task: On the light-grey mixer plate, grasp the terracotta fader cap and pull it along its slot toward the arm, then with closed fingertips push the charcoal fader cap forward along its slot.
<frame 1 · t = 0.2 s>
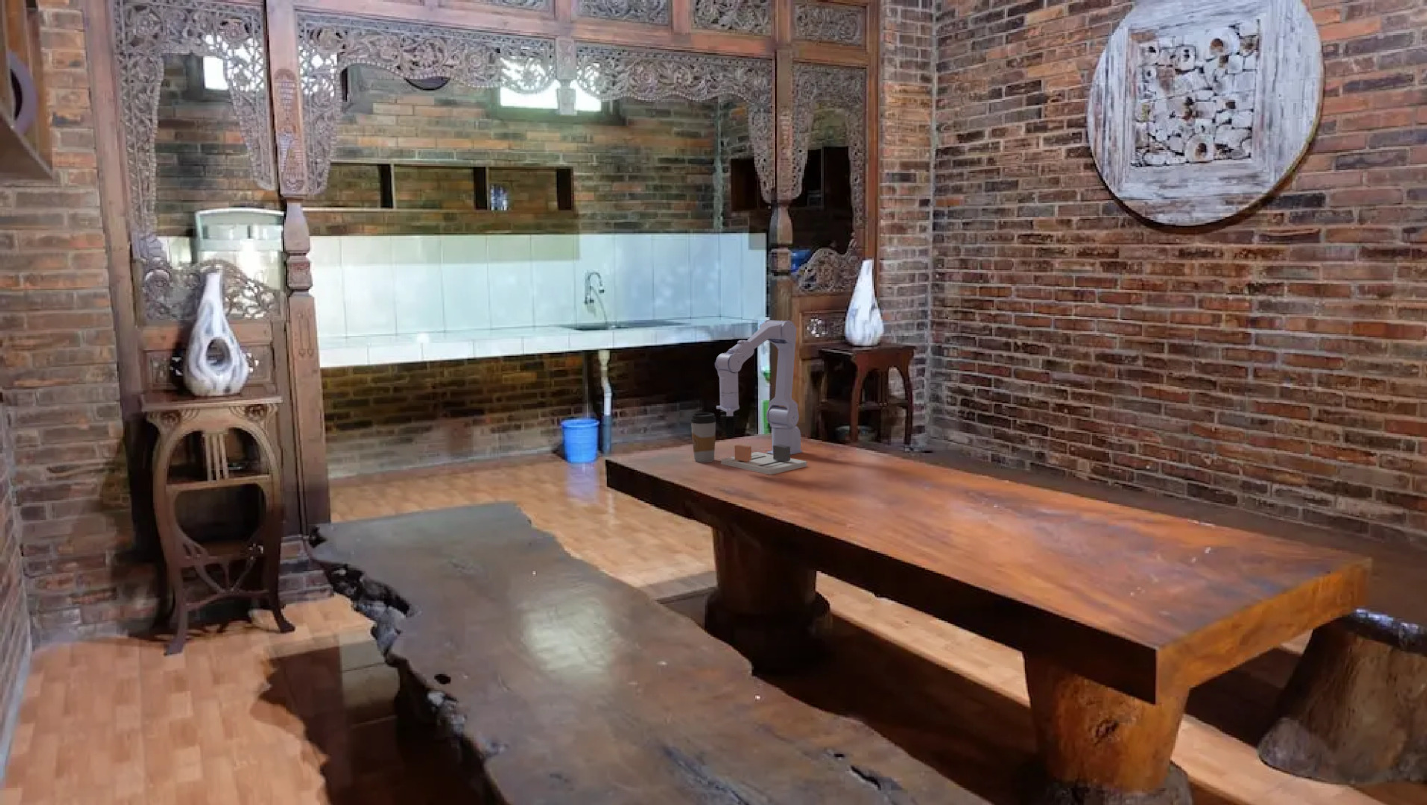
hand: (730, 435, 307), 10 cm above the table, fingers open, 7 cm apart
mixer plate: (763, 465, 310), on the table
fader b: (781, 453, 307), point 4 cm above the table, slide at 0.0 cm
coffee cup: (704, 461, 318), on the table
fader a: (743, 452, 309), point 4 cm above the table, slide at 8.0 cm
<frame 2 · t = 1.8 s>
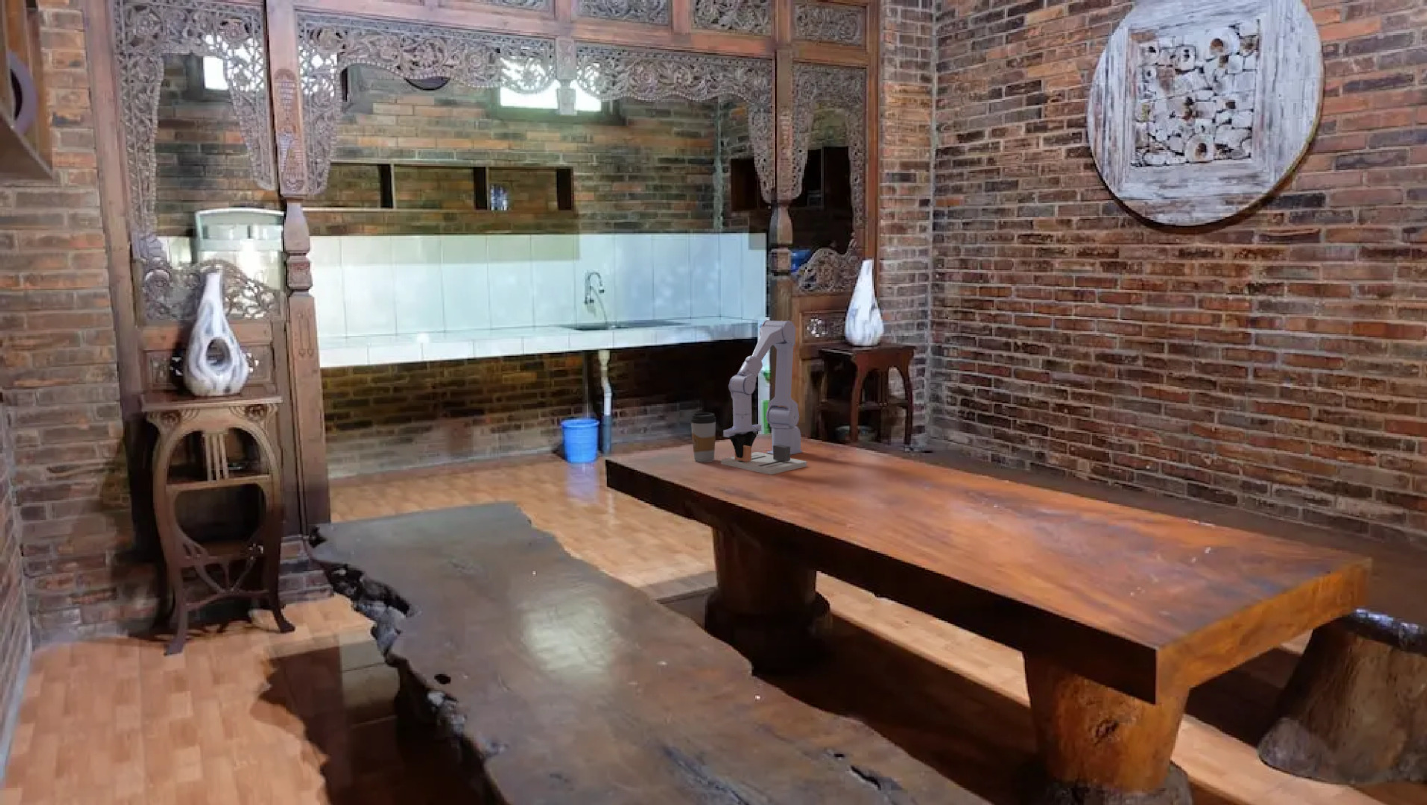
hand: (743, 456, 309), 3 cm above the table, fingers closed on fader a, 2 cm apart
fader a: (743, 452, 309), point 4 cm above the table, slide at 8.0 cm, touching gripper
everything else where it was.
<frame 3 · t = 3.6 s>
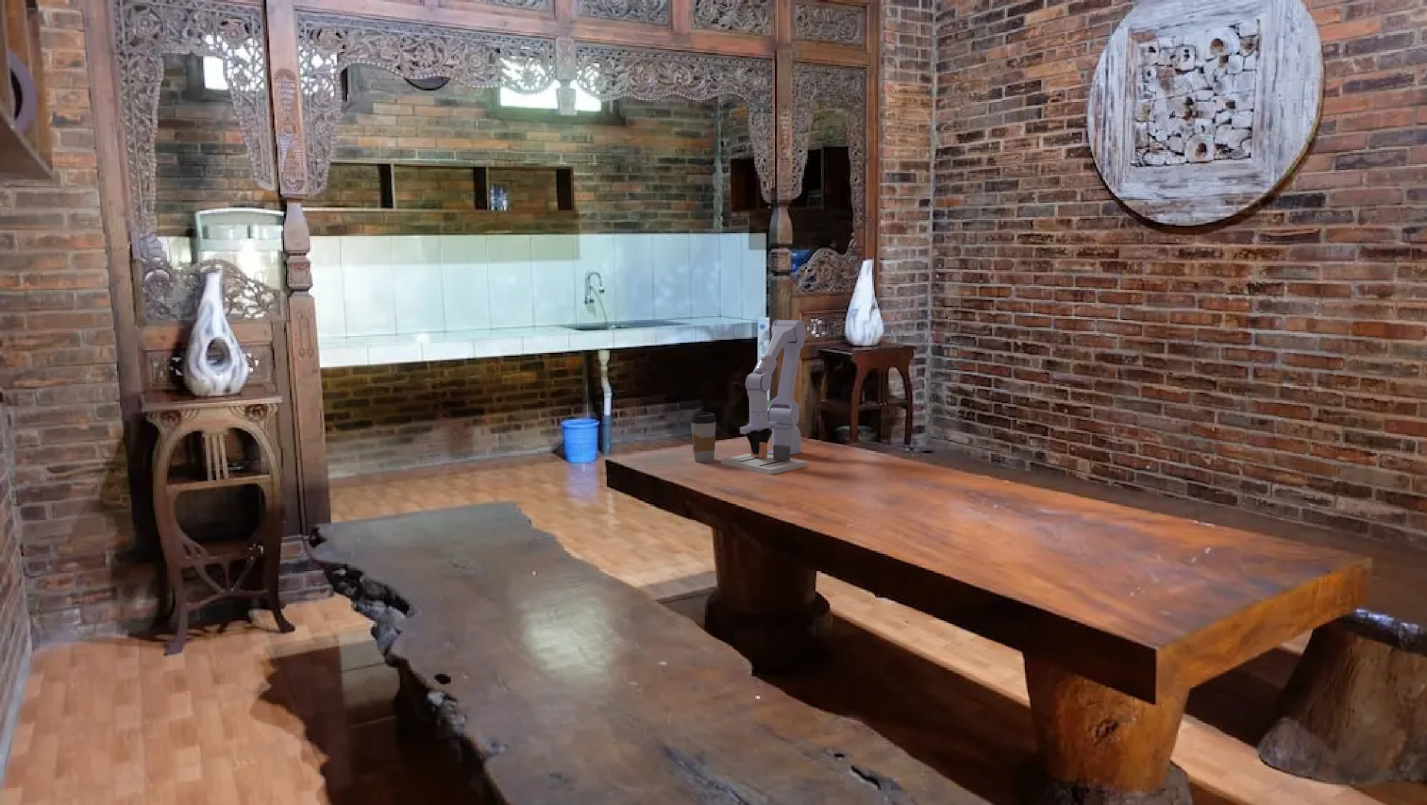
hand: (759, 453, 313), 3 cm above the table, fingers closed on fader a, 2 cm apart
fader a: (758, 449, 313), point 4 cm above the table, slide at 1.0 cm, touching gripper
everything else where it was.
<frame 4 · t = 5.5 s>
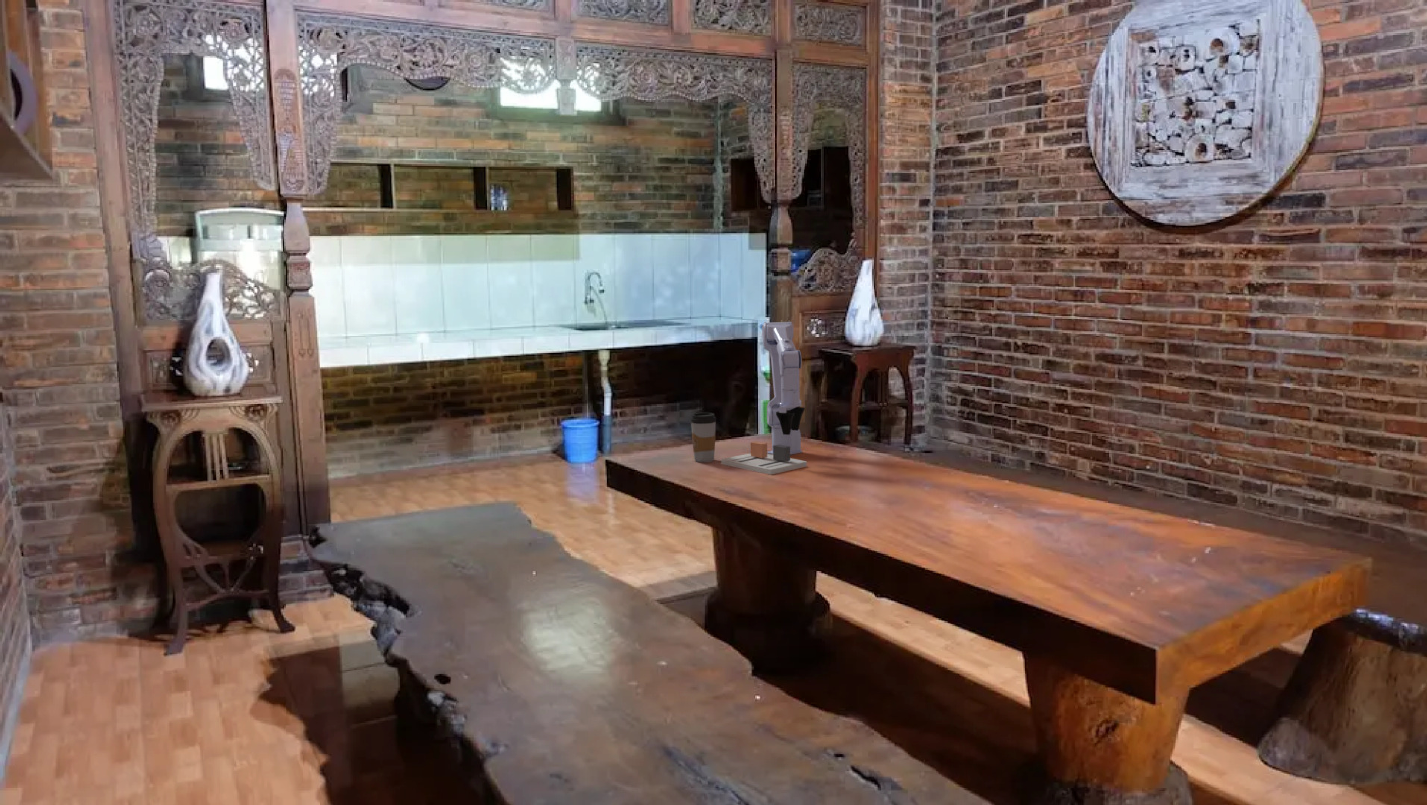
hand: (790, 432, 310), 10 cm above the table, fingers open, 7 cm apart
fader a: (758, 449, 313), point 4 cm above the table, slide at 1.0 cm
everything else where it was.
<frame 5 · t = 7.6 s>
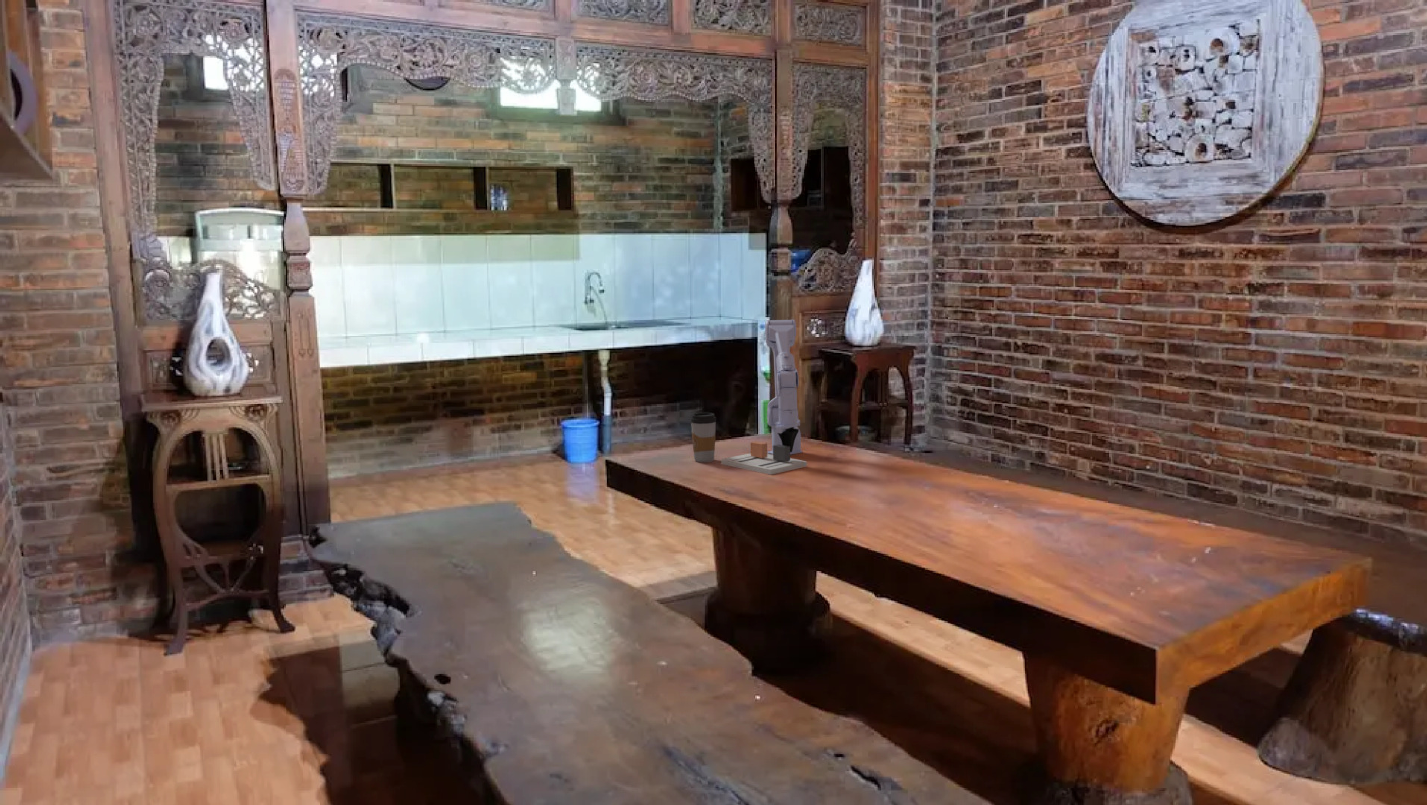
hand: (788, 452, 309), 4 cm above the table, fingers closed
fader b: (781, 453, 307), point 4 cm above the table, slide at 0.0 cm, touching gripper
everything else where it was.
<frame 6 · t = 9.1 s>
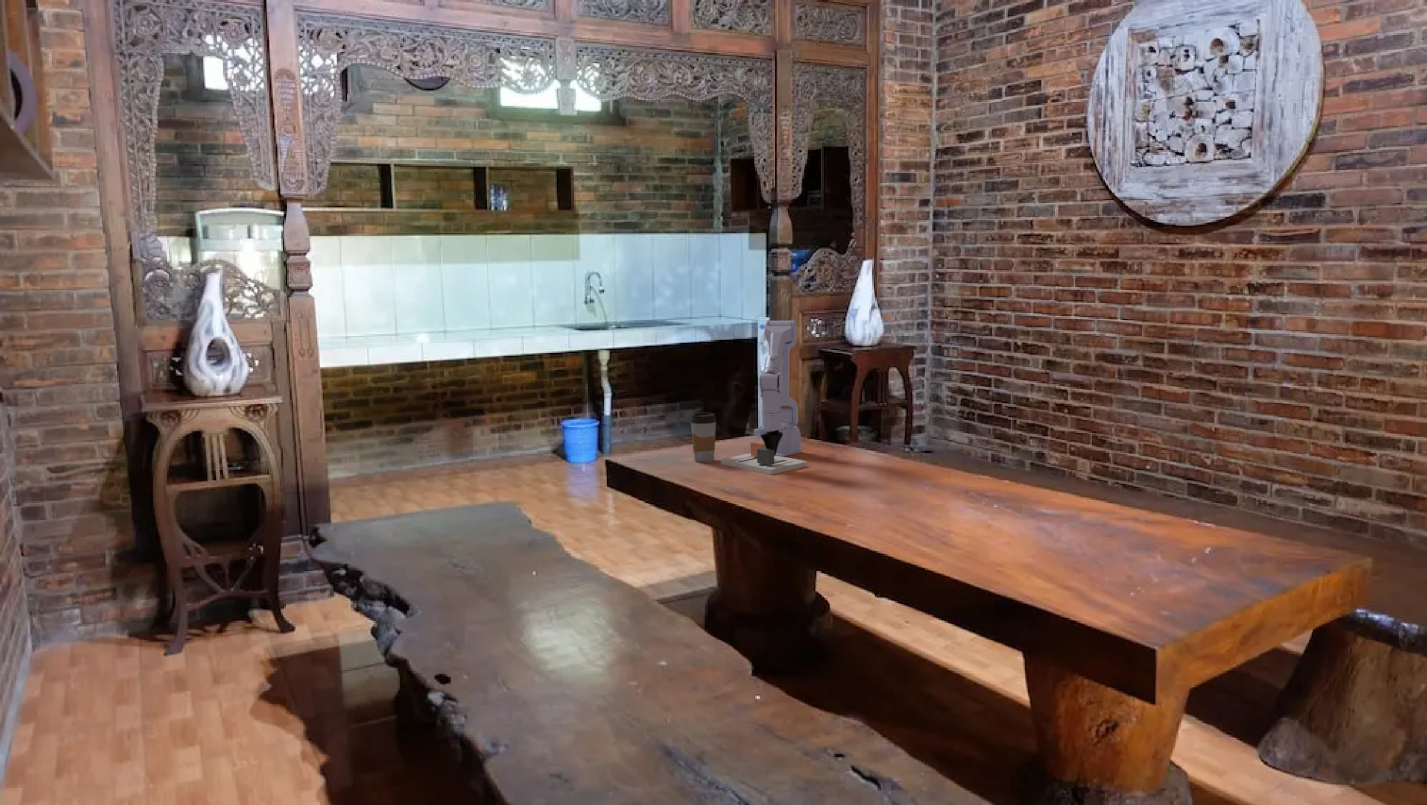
hand: (771, 455, 304), 4 cm above the table, fingers closed
fader b: (765, 456, 303), point 4 cm above the table, slide at 7.0 cm, touching gripper
everything else where it was.
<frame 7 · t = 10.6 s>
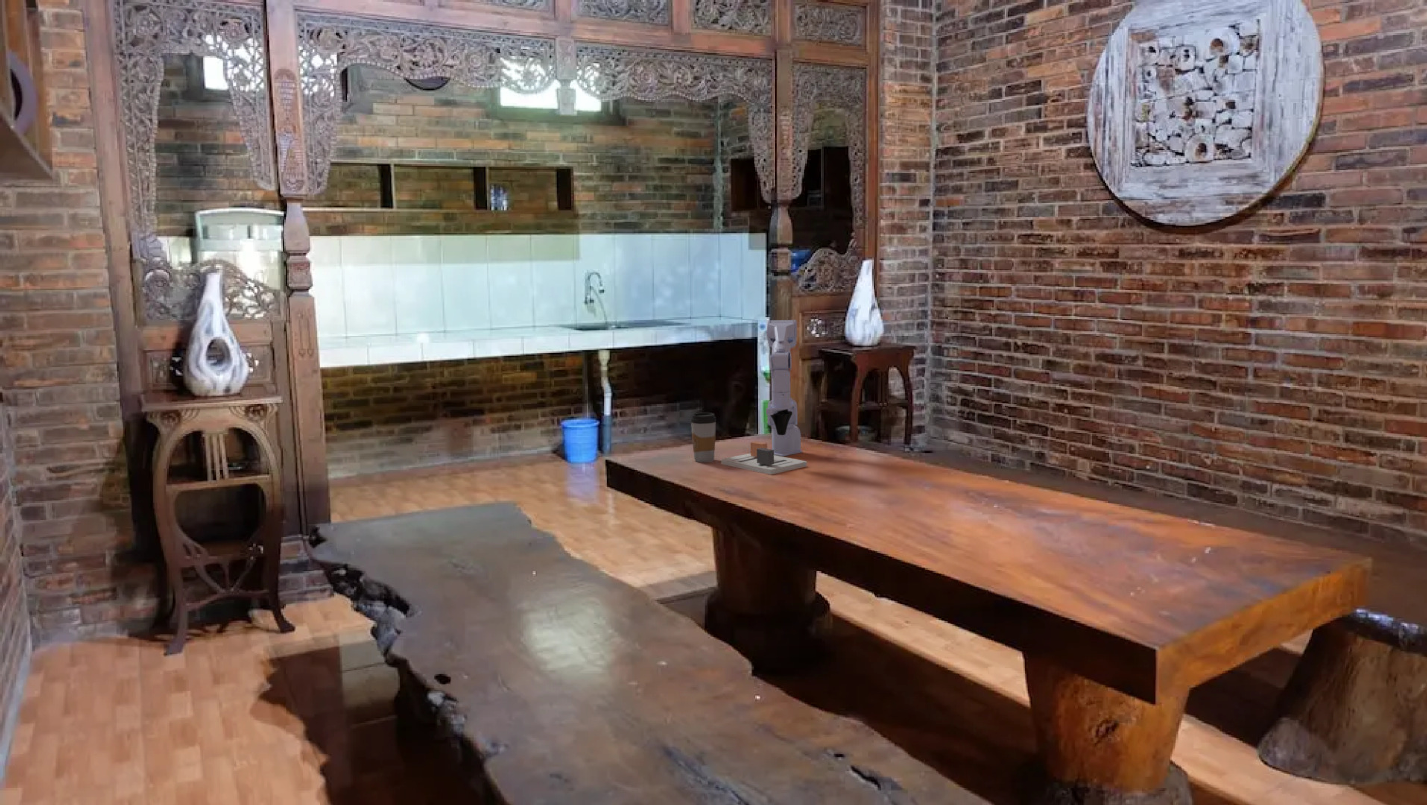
hand: (781, 434, 306), 10 cm above the table, fingers closed
fader b: (765, 456, 303), point 4 cm above the table, slide at 7.1 cm
everything else where it was.
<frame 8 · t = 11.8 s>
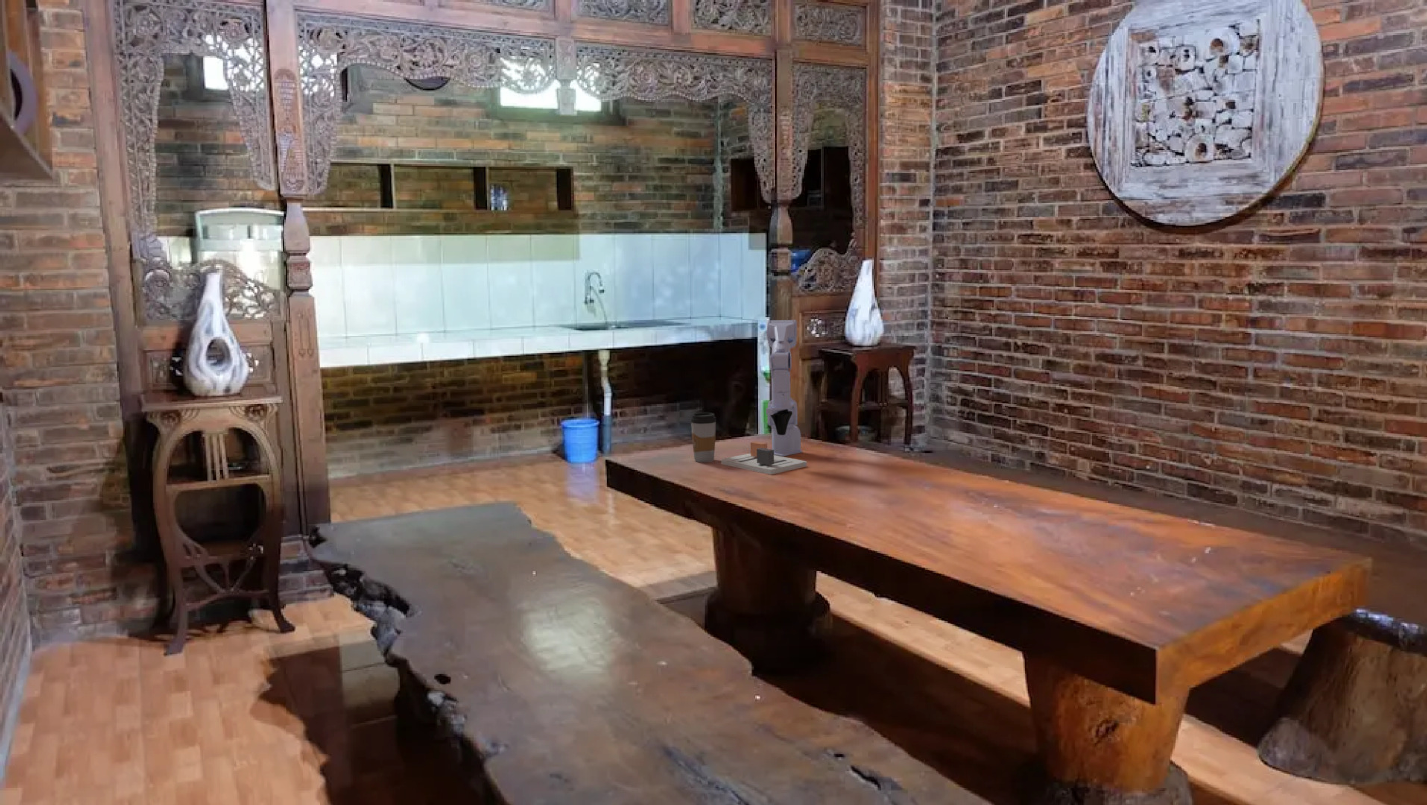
hand: (781, 434, 306), 10 cm above the table, fingers closed
nothing on the table moved.
at the end: fader a slide at 1.0 cm; fader b slide at 7.1 cm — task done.
